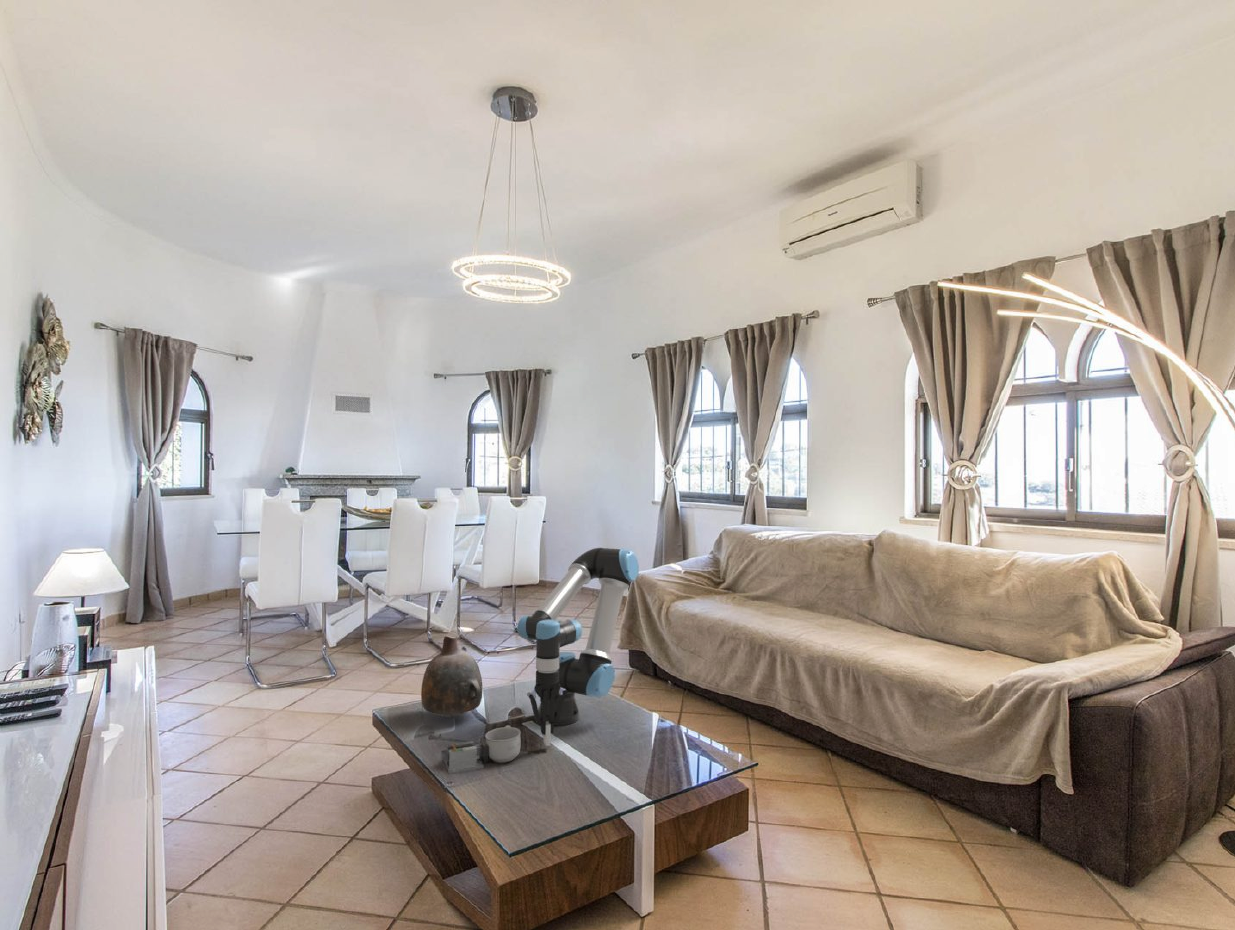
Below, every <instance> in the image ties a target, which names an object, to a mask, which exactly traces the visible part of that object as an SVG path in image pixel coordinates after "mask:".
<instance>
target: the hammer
mask: <svg viewBox="0 0 1235 930" xmlns="http://www.w3.org/2000/svg"><path fill="white" fill-rule="evenodd" d="M478 740H479V743H478V744H479V745H475V746H476V747H477V756H479V757H480V759H481V761H482V763H483V764H488V762H489V760H488V759H489V756H488V745H487V744H486V739H485V738H484V737H480V738H479V739H478ZM471 747H472V746H471ZM464 748H465V747H464ZM452 749H454V751H456V747H455V745H452ZM450 750H451V749H450ZM440 760H441V762H445V760H449V750H447V749H446V750H441V751H440Z"/></svg>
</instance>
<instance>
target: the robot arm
mask: <svg viewBox="0 0 1235 930" xmlns="http://www.w3.org/2000/svg"><path fill="white" fill-rule="evenodd" d="M639 570H640V566H639V559H638V556H637V555H636V554H635V553H634V551H632V550H629V549H624V548H620V549H619V548H608V547H607V548H605V547H596V548H592V549H589V550H587V551H586V552H584V553H582V554H580V555H579V556H578V557H576V559H575V560H573V562H572V563H571V564H570V565H569V567H568V570H567V571H568V572H567V573H566V574H565V575H564V577H562V579H561V580H560V581H559V583H558V584H557V585H556V586H555V587H554V588H553V590H552V591H551V592H550V593H549V594H548V595H547V597H546V598H545V599H544V600H543V602H542V603H541V604H540V605H539V606H538V607H537V608H536V610H535V611H534V613H532V614H531V616H530V615H524V616H522V617H520V619H519V620H518V623H517V628H516V630H517V633H518V636H519V637H521V638H523V639H526V640H529V641H531V640H532V641H535V645H536V646H535V647H536V650H535V652H536V653H535V670H536V671H535V685H534V687H533V690H532V691H531V692H527V694H526V695H527V697H528V699H529V700H530V703H531V704H530V705H531V709H532V713H533V717H534V721H535V722H536V723H537V724H540V733H541V735H542V736H543V744H544V745H545V746H547V747H548V746H551V734H554V726H564V725H565V726H566V725H571V724H573V723H576V722H577V721H578V720H579V719H580V710H579V705H578V702H577V700H576V697H575V696H576V695H575V694H578V695H582V696H588V697H590V698H603V697H605V696H607V695H608V694H609V693H610V691H611V690H612V687H613V685H614V682H615V679H616V674H615V672H616V670H615V667H614V666H613V665H612V662H613V660H612V658H611V657H610V652H611V647H612V644H613V643H612V642H613V639H614V634H615V630H616V626H617V622H618V617H619V613H620V609H621V606H622V600H623V595H624V592H625V591H627V590H628V589H629V588H630V583H633V582H635V581H636V580H637V578H638V577H639V572H640V571H639ZM593 579H598V582H599V584H600V586H601V587H600V590H599V594H598V598H597V602H596V607H595V611H594V613H593V618H592V623H591V626H590V630H589V635H588V637H587V643H586V647H585V649H584V650H582V651H581V652H580V653H579V657H578V658H576V654H575V653H576V652H573V651H562V652H561V651H560V649H561V648H562V647H565V646H569V645H571V644H575V642H577V641H579V640H580V639H581V637H582V636H583V635H582V634H583V628H582V625H581V623H580V622H579V621H577V620H576V619H567V620H558V618H559V616H560V615H561V614H562V612H563V611H564V610H566V608H567V607H568V605H569V604H570V603H571V601H573V599H574V597H575V596H576V595H577V594H578V592H579V591H580V590H581V589H582V587H583V586H584V585H587V584H589V583H590V582H591V580H593ZM537 696H538V697H539V701H540V703H539V705H538V704H537V700H536V698H537Z"/></svg>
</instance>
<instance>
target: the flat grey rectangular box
mask: <svg viewBox="0 0 1235 930" xmlns="http://www.w3.org/2000/svg"><path fill="white" fill-rule="evenodd" d="M452 745H455V747H456V751H454V749H452ZM471 746H472V747H471ZM476 746H477V745H475V742H474V740H471V741H465V742H464V741H463V742H455V743H451V744H446V750H449V760H445V761H444V765H445V766H446V769H447V772H448V774H456V773H462V772H469V771H475V770H481V769H484V763H483V761H482V759H481V757H480V755H479V756H477V747H476ZM464 747H465V748H464ZM450 749H451V750H450Z"/></svg>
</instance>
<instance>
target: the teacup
mask: <svg viewBox="0 0 1235 930" xmlns="http://www.w3.org/2000/svg"><path fill="white" fill-rule="evenodd" d="M521 734H522V733H521V729H520V728H518V727H517V728H516V727H511V725H505V726H504V727H502V726H501V727H497V728H494V729H491V730H489V731H488V732H486V733H485V735H484V737H485V738H484V739H485V742H486V744H487V745H488V759H490V760H492V761H493V762H495V763H498V764H499V763H501V764H502V763H508V762H509V763H510V762H511V761H513V760H514V759H515V758H516V757H517V756H518V755H519V754H520V751H521V747H522V745H521V744H522V740H521Z"/></svg>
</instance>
